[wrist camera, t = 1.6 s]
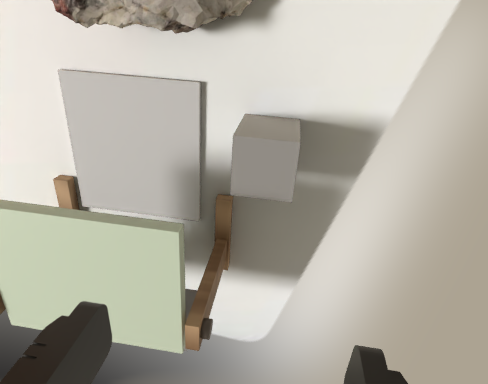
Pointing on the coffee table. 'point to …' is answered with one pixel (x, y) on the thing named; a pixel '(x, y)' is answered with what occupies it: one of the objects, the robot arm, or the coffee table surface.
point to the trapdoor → (95, 271)
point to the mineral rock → (150, 12)
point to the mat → (135, 142)
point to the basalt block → (265, 157)
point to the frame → (198, 317)
